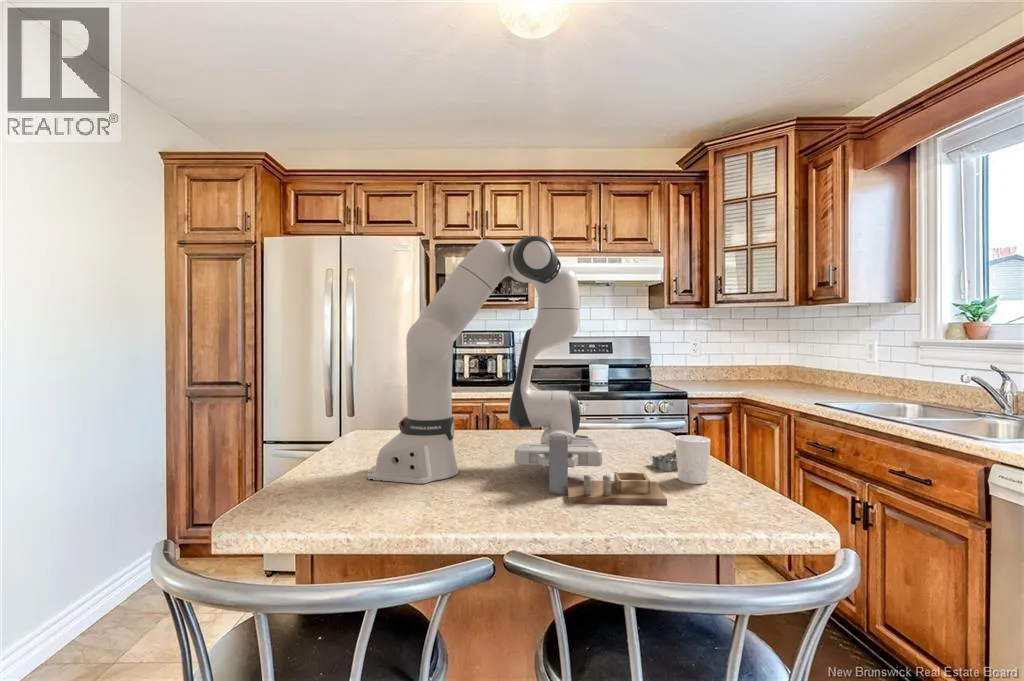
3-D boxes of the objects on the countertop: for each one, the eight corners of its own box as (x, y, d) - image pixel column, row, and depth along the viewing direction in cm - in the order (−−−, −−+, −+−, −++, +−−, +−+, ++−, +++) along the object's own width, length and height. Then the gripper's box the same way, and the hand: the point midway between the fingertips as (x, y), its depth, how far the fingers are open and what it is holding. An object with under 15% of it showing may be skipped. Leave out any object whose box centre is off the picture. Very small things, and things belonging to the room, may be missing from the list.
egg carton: (684, 463, 138) (684, 448, 138) (700, 470, 130) (700, 454, 130) (648, 465, 135) (648, 450, 135) (662, 472, 128) (662, 456, 128)
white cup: (715, 485, 117) (715, 441, 117) (681, 485, 117) (681, 442, 117) (703, 475, 125) (703, 435, 124) (671, 475, 125) (671, 435, 125)
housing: (568, 502, 105) (568, 477, 105) (566, 485, 117) (566, 462, 117) (667, 504, 104) (667, 479, 103) (655, 486, 116) (655, 464, 115)
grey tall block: (549, 494, 110) (549, 439, 110) (549, 489, 114) (549, 436, 114) (567, 495, 110) (567, 440, 110) (567, 489, 114) (567, 436, 114)
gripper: (515, 436, 126) (511, 448, 112) (598, 437, 124) (604, 449, 110) (515, 461, 126) (511, 477, 112) (598, 462, 124) (604, 478, 111)
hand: (558, 463), depth 111 cm, fingers closed on grey tall block, 4 cm apart
